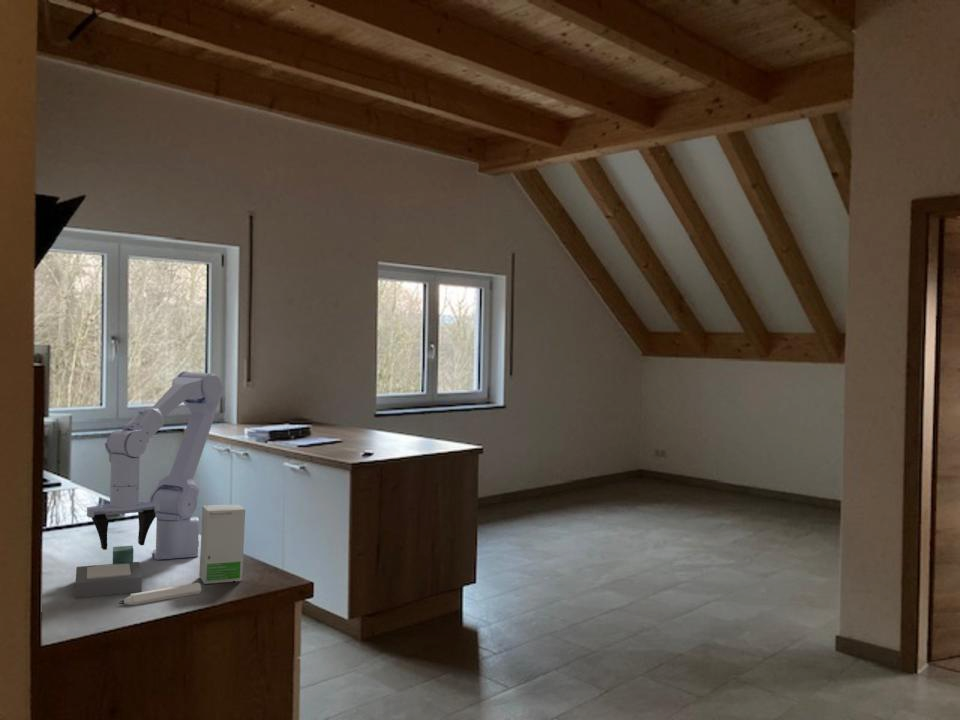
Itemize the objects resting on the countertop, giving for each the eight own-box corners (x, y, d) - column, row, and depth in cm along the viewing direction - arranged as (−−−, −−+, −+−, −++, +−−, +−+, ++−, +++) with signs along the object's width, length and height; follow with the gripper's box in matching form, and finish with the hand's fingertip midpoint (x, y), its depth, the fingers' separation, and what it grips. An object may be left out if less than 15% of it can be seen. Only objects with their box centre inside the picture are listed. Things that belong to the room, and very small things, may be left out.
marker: (115, 611, 153) (198, 595, 163) (118, 609, 151) (202, 592, 162) (113, 598, 153) (196, 583, 164) (116, 595, 152) (199, 580, 162)
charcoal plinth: (138, 575, 172) (138, 560, 172) (141, 591, 161) (142, 575, 161) (76, 581, 167) (76, 565, 167) (75, 598, 156) (75, 581, 156)
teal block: (132, 567, 178) (132, 545, 178) (132, 572, 175) (133, 549, 174) (112, 569, 176) (112, 546, 176) (112, 574, 173) (113, 551, 173)
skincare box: (203, 585, 167) (205, 511, 167) (198, 576, 173) (200, 505, 173) (244, 581, 171) (246, 508, 171) (238, 572, 177) (240, 502, 177)
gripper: (153, 479, 183) (151, 538, 183) (84, 484, 174) (82, 546, 174) (163, 484, 177) (161, 545, 177) (92, 489, 168) (90, 553, 168)
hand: (122, 546), depth 175 cm, fingers open, 7 cm apart
